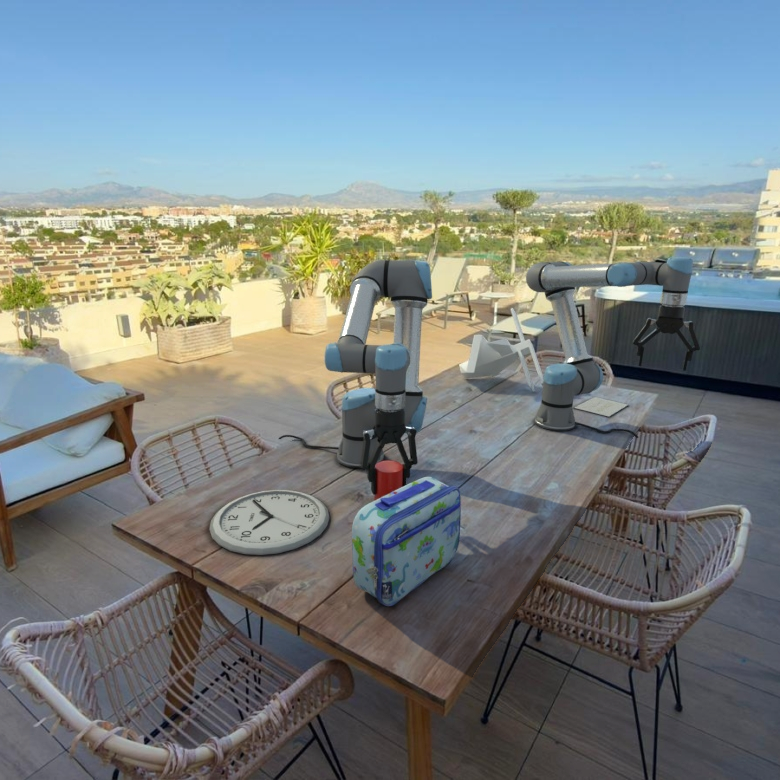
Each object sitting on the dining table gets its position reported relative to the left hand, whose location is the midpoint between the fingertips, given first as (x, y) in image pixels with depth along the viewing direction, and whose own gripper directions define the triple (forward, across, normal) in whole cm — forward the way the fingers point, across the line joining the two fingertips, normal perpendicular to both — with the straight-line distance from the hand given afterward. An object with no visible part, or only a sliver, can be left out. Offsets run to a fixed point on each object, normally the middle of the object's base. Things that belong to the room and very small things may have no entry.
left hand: (388, 490), depth 137 cm
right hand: (-21, +103, +25) cm, 109 cm away
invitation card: (+7, +112, +65) cm, 130 cm away
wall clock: (+7, -30, +4) cm, 31 cm away
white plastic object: (+7, +82, +104) cm, 133 cm away
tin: (+3, 0, 0) cm, 3 cm away
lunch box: (+7, -2, -26) cm, 27 cm away
